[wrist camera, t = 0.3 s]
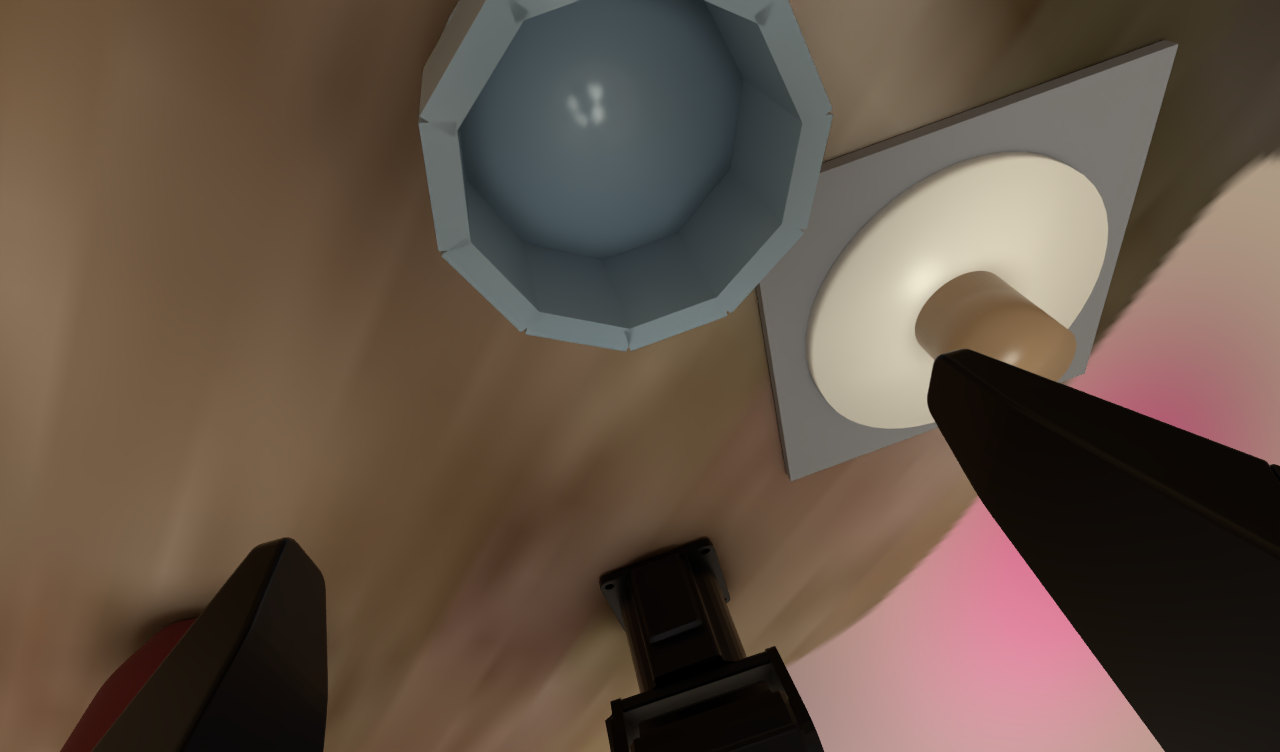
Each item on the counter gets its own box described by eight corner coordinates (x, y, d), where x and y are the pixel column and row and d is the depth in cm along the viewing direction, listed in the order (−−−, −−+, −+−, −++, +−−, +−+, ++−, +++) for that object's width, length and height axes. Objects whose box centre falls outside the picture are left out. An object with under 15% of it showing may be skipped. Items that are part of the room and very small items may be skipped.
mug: (162, 536, 26) (48, 816, 18) (356, 582, 30) (328, 822, 23) (72, 671, 30) (-54, 950, 22) (257, 694, 34) (204, 933, 27)
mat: (1075, 366, 33) (1084, 373, 33) (786, 472, 33) (790, 481, 33) (1163, 39, 23) (1178, 43, 22) (740, 192, 23) (746, 199, 22)
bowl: (776, 206, 23) (841, 274, 19) (503, 304, 23) (515, 392, 19) (733, -137, 17) (819, -133, 13) (351, -1, 16) (324, 41, 13)
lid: (1061, 361, 32) (1141, 427, 28) (816, 452, 32) (864, 529, 28) (1126, 101, 23) (1253, 146, 20) (791, 222, 23) (856, 291, 19)
